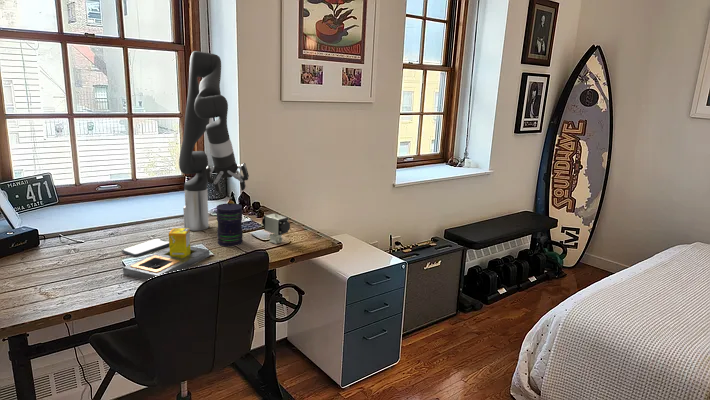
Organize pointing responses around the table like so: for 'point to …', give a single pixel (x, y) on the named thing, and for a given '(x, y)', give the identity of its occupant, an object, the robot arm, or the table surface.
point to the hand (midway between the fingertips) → (231, 190)
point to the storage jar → (229, 224)
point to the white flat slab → (146, 247)
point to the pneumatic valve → (276, 226)
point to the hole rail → (164, 263)
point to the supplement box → (179, 242)
